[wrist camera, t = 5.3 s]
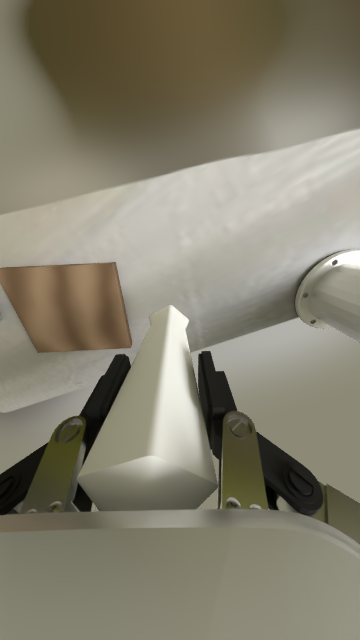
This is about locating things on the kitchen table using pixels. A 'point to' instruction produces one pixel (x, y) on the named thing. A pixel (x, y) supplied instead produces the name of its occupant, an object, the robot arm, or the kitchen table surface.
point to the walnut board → (69, 306)
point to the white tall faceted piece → (153, 431)
